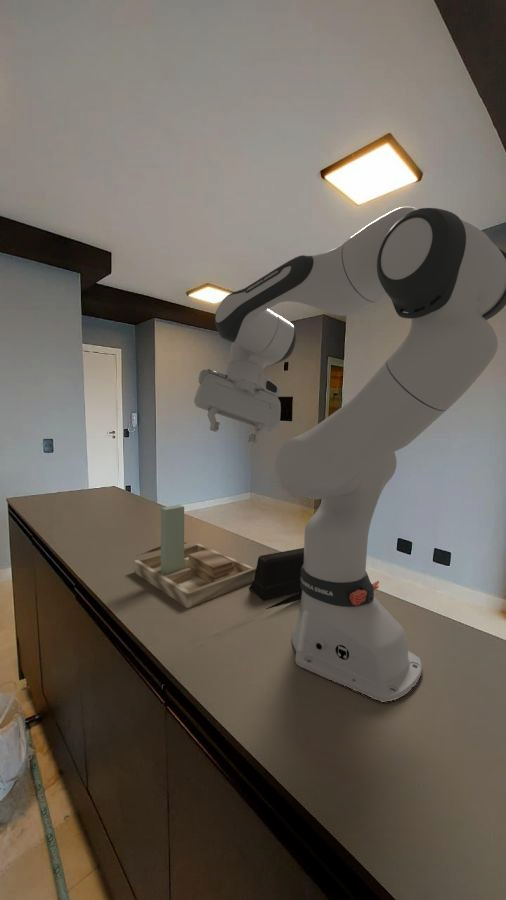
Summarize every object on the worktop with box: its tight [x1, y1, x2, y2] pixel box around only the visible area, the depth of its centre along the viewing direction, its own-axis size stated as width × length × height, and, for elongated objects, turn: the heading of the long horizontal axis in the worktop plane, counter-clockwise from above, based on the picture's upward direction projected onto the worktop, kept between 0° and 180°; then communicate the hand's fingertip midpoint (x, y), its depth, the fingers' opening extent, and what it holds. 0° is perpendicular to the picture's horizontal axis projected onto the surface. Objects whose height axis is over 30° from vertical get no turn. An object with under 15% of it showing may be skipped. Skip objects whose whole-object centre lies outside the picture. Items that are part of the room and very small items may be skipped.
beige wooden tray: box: [133, 543, 256, 609], centre depth 93 cm, size 24×20×4 cm
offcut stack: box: [184, 550, 237, 583], centre depth 95 cm, size 14×7×4 cm, turn 44°
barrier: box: [248, 547, 304, 610], centre depth 90 cm, size 24×9×10 cm, turn 119°
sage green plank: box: [160, 504, 185, 575], centre depth 90 cm, size 2×5×18 cm, turn 134°
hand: (233, 436), depth 82 cm, fingers open, 8 cm apart
